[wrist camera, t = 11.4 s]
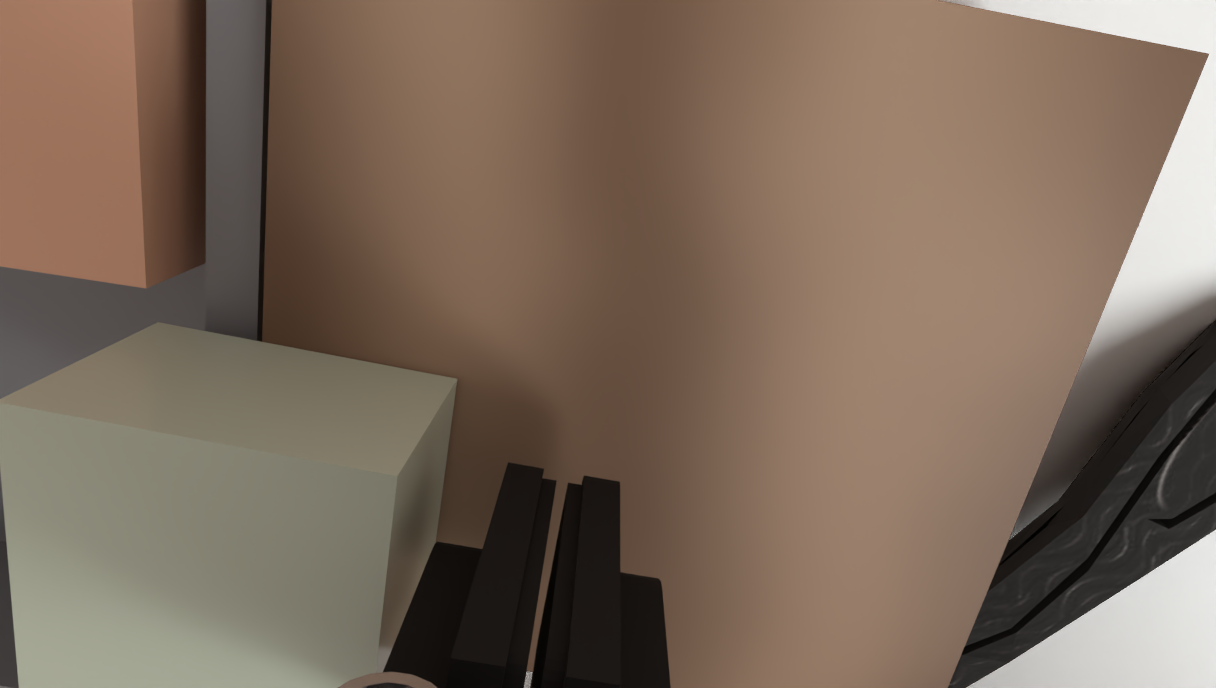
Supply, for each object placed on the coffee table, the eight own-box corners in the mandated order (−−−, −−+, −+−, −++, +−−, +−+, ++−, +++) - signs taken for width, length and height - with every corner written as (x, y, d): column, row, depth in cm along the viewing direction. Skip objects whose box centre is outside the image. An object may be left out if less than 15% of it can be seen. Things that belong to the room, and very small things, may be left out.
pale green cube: (457, 378, 11) (397, 475, 8) (424, 621, 13) (364, 774, 10) (158, 321, 11) (-6, 401, 8) (159, 574, 13) (21, 714, 10)
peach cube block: (128, -57, 9) (-115, -97, 9) (145, 288, 11) (-65, 255, 11) (283, -12, 14) (116, -40, 14) (280, 231, 15) (129, 207, 15)
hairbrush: (1552, 483, 15) (635, 1109, 19) (1365, 411, 18) (629, 956, 23) (1336, 176, 13) (386, 950, 18) (1176, 163, 16) (421, 811, 21)
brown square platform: (1015, 64, 14) (1208, 53, 10) (848, 564, 18) (928, 733, 13) (393, -57, 14) (276, -131, 9) (352, 482, 18) (254, 628, 13)
